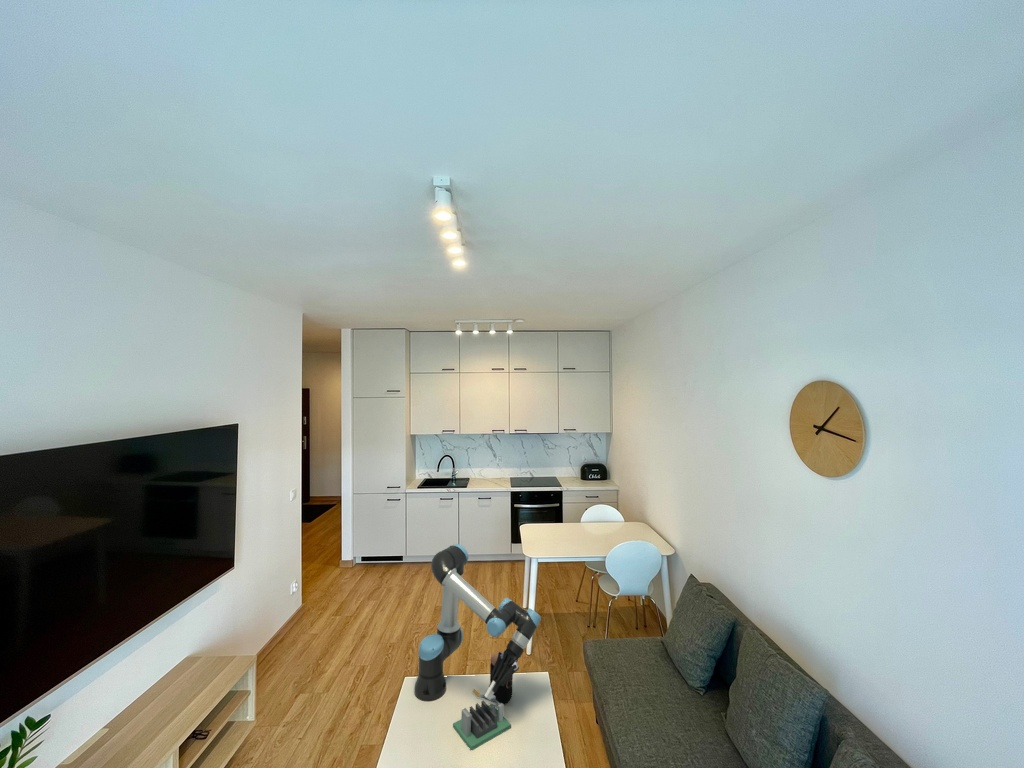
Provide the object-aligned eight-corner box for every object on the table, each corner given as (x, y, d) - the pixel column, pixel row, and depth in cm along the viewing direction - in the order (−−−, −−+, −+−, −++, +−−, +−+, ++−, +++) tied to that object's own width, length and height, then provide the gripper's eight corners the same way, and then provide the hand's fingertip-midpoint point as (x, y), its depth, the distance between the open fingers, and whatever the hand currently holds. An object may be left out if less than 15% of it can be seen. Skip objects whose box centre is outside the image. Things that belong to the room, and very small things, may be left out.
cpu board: (452, 727, 176) (453, 704, 177) (491, 707, 188) (492, 685, 189) (470, 750, 164) (471, 726, 165) (511, 728, 176) (511, 705, 176)
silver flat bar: (471, 693, 176) (473, 688, 177) (494, 702, 183) (496, 696, 183) (476, 699, 173) (478, 693, 173) (499, 707, 179) (501, 702, 180)
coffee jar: (509, 707, 188) (510, 667, 189) (487, 703, 190) (487, 663, 191) (514, 691, 198) (514, 653, 199) (492, 688, 200) (493, 650, 201)
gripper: (531, 655, 184) (501, 710, 173) (513, 641, 194) (483, 693, 183) (521, 647, 181) (490, 703, 170) (504, 634, 191) (473, 685, 180)
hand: (487, 697), depth 177 cm, fingers closed
